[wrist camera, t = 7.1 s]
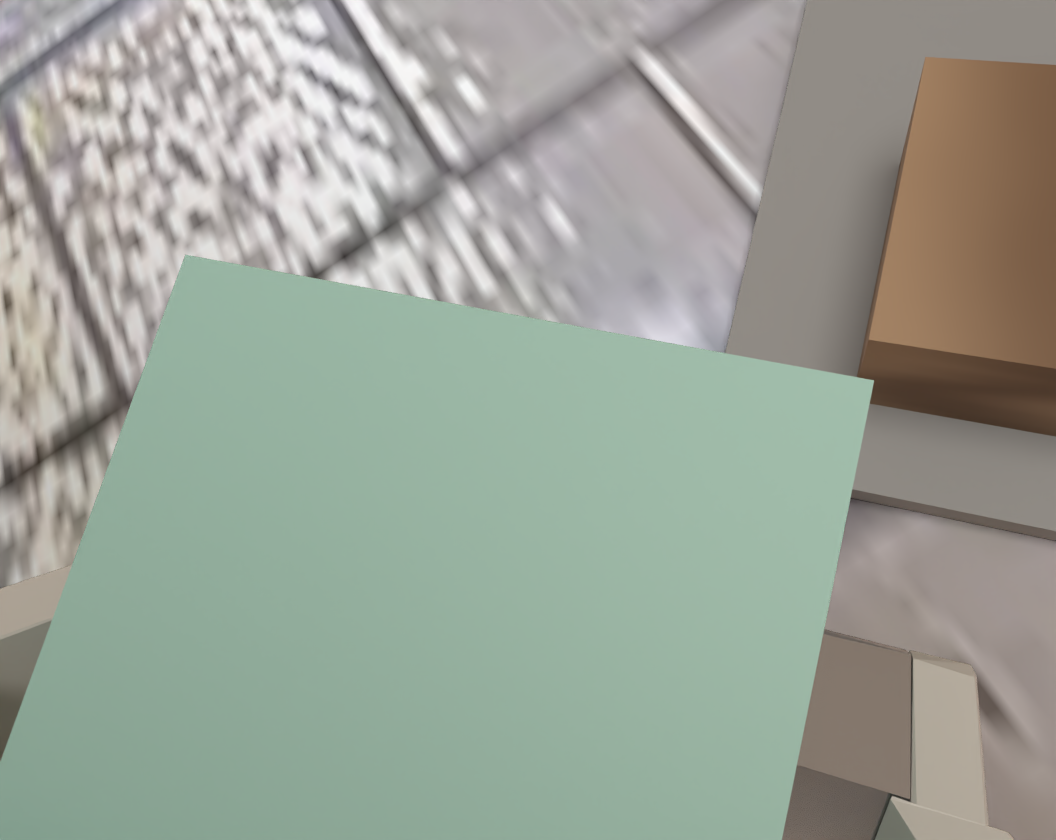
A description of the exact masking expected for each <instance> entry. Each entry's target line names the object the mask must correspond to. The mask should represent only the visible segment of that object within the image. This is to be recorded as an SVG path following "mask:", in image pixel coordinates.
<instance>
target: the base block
mask: <svg viewBox="0 0 1056 840" xmlns="http://www.w3.org/2000/svg"><path fill="white" fill-rule="evenodd" d="M857 377H858V378H864V379H869V380H874V384H873V389H872V394H871V399H870V404H875V405H880V406H886V407H892V408H897V409H903V410H909V411H914V412H920V413H926V414H931V415H937V416H942V417H948V418H954V419H959V420H965V421H971V422H976V423H982V424H988V425H993V426H999V427H1005V428H1010V429H1016V430H1022V431H1027V432H1033V433H1038V434H1044V435H1050V436H1055V437H1056V65H1050V64H1033V63H1017V62H1001V61H984V60H968V59H951V58H935V57H925V61H924V65H923V69H922V73H921V77H920V82H919V86H918V90H917V94H916V98H915V102H914V107H913V111H912V115H911V119H910V123H909V127H908V132H907V136H906V140H905V144H904V148H903V152H902V157H901V161H900V165H899V170H898V175H897V180H896V185H895V190H894V195H893V200H892V205H891V210H890V215H889V220H888V225H887V230H886V235H885V240H884V245H883V249H882V254H881V259H880V264H879V269H878V274H877V279H876V284H875V289H874V294H873V299H872V304H871V309H870V314H869V319H868V324H867V329H866V334H865V339H864V344H863V349H862V354H861V359H860V364H859V369H858V374H857Z"/></svg>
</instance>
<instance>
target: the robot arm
mask: <svg viewBox="0 0 1056 840" xmlns="http://www.w3.org/2000/svg"><path fill="white" fill-rule="evenodd" d="M71 567H72V565H70V566H67V567H64V568H61V569H58V570H55V571H52V572H49V573H46V574H43V575H40V576H37V577H34V578H31V579H28V580H25V581H22V582H19V583H16V584H13V585H10V586H7V587H4V588H1V589H0V761H1V758H2V756H3V753H4V750H5V747H6V745H7V742H8V739H9V737H10V734H11V731H12V728H13V726H14V723H15V720H16V717H17V715H18V712H19V709H20V706H21V704H22V701H23V698H24V695H25V693H26V690H27V687H28V685H29V682H30V679H31V676H32V674H33V671H34V668H35V665H36V663H37V660H38V657H39V654H40V652H41V649H42V646H43V643H44V641H45V638H46V635H47V632H48V630H49V627H50V624H51V622H52V619H53V616H54V613H55V611H56V608H57V605H58V602H59V600H60V597H61V594H62V591H63V589H64V586H65V583H66V580H67V578H68V575H69V572H70V569H71ZM782 840H1014V839H1013V837H1012V836H1011V835H1010V833H1008V832H1005V831H1002V830H999V829H996V828H993V827H990V826H989V823H988V811H987V798H986V786H985V774H984V762H983V749H982V737H981V725H980V713H979V700H978V688H977V676H976V673H975V671H974V670H973V668H972V667H971V665H969V664H965V663H961V662H957V661H953V660H948V659H944V658H940V657H936V656H932V655H928V654H924V653H920V652H916V651H911V650H910V651H909V652H907V651H906V650H904V649H900V648H896V647H892V646H888V645H884V644H880V643H877V642H873V641H869V640H865V639H861V638H857V637H853V636H849V635H845V634H841V633H837V632H833V631H829V630H825V629H824V633H823V637H822V642H821V647H820V652H819V657H818V662H817V667H816V672H815V677H814V682H813V687H812V692H811V697H810V702H809V707H808V712H807V717H806V722H805V727H804V732H803V737H802V742H801V747H800V752H799V757H798V762H797V767H796V772H795V777H794V782H793V787H792V792H791V797H790V802H789V807H788V812H787V817H786V821H785V826H784V831H783V836H782Z"/></svg>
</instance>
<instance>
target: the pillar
mask: <svg viewBox="0 0 1056 840" xmlns="http://www.w3.org/2000/svg"><path fill="white" fill-rule="evenodd" d="M873 384H874V380H869V379H864V378H858V377H853V376H847V375H842V374H836V373H831V372H825V371H820V370H814V369H809V368H803V367H798V366H792V365H787V364H781V363H776V362H770V361H765V360H759V359H754V358H748V357H743V356H738V355H732V354H727V353H721V352H716V351H710V350H705V349H699V348H694V347H688V346H683V345H677V344H672V343H666V342H661V341H655V340H650V339H644V338H639V337H633V336H628V335H622V334H617V333H611V332H606V331H600V330H595V329H589V328H584V327H579V326H573V325H568V324H562V323H557V322H551V321H546V320H540V319H535V318H529V317H524V316H518V315H513V314H507V313H502V312H496V311H491V310H485V309H480V308H474V307H469V306H463V305H458V304H452V303H447V302H441V301H436V300H431V299H425V298H420V297H414V296H409V295H403V294H398V293H392V292H387V291H381V290H376V289H370V288H365V287H359V286H354V285H348V284H343V283H337V282H332V281H326V280H321V279H315V278H310V277H304V276H299V275H293V274H288V273H282V272H277V271H272V270H266V269H261V268H255V267H250V266H244V265H239V264H233V263H228V262H222V261H217V260H211V259H206V258H200V257H195V256H189V255H185V257H184V260H183V263H182V266H181V268H180V271H179V274H178V276H177V279H176V282H175V285H174V287H173V290H172V293H171V296H170V298H169V301H168V304H167V307H166V309H165V312H164V315H163V318H162V320H161V323H160V326H159V329H158V331H157V334H156V337H155V339H154V342H153V345H152V348H151V350H150V353H149V356H148V359H147V361H146V364H145V367H144V370H143V372H142V375H141V378H140V381H139V383H138V386H137V389H136V391H135V394H134V397H133V400H132V402H131V405H130V408H129V411H128V413H127V416H126V419H125V422H124V424H123V427H122V430H121V433H120V435H119V438H118V441H117V444H116V446H115V449H114V452H113V454H112V457H111V460H110V463H109V465H108V468H107V471H106V474H105V476H104V479H103V482H102V485H101V487H100V490H99V493H98V496H97V498H96V501H95V504H94V507H93V509H92V512H91V515H90V517H89V520H88V523H87V526H86V528H85V531H84V534H83V537H82V539H81V542H80V545H79V548H78V550H77V553H76V556H75V559H74V561H73V564H72V567H71V569H70V572H69V575H68V578H67V580H66V583H65V586H64V589H63V591H62V594H61V597H60V600H59V602H58V605H57V608H56V611H55V613H54V616H53V619H52V622H51V624H50V627H49V630H48V632H47V635H46V638H45V641H44V643H43V646H42V649H41V652H40V654H39V657H38V660H37V663H36V665H35V668H34V671H33V674H32V676H31V679H30V682H29V685H28V687H27V690H26V693H25V695H24V698H23V701H22V704H21V706H20V709H19V712H18V715H17V717H16V720H15V723H14V726H13V728H12V731H11V734H10V737H9V739H8V742H7V745H6V747H5V750H4V753H3V756H2V758H1V761H0V840H782V836H783V831H784V826H785V821H786V817H787V812H788V807H789V802H790V797H791V792H792V787H793V782H794V777H795V772H796V767H797V762H798V757H799V752H800V747H801V742H802V737H803V732H804V727H805V722H806V717H807V712H808V707H809V702H810V697H811V692H812V687H813V682H814V677H815V672H816V667H817V662H818V657H819V652H820V647H821V642H822V637H823V633H824V628H825V623H826V618H827V613H828V608H829V603H830V598H831V593H832V588H833V583H834V578H835V573H836V568H837V563H838V558H839V553H840V548H841V543H842V538H843V533H844V528H845V523H846V518H847V513H848V508H849V503H850V498H851V493H852V488H853V483H854V478H855V473H856V468H857V463H858V458H859V453H860V449H861V444H862V439H863V434H864V429H865V424H866V419H867V414H868V409H869V404H870V399H871V394H872V389H873Z"/></svg>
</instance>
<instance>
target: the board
mask: <svg viewBox="0 0 1056 840" xmlns="http://www.w3.org/2000/svg"><path fill="white" fill-rule="evenodd" d="M925 57H935V58H951V59H968V60H984V61H1001V62H1017V63H1033V64H1050V65H1056V0H807V4H806V8H805V12H804V17H803V21H802V25H801V30H800V34H799V38H798V42H797V47H796V51H795V55H794V60H793V64H792V68H791V73H790V77H789V81H788V85H787V90H786V94H785V98H784V103H783V107H782V111H781V115H780V120H779V124H778V128H777V133H776V137H775V141H774V145H773V150H772V154H771V158H770V163H769V167H768V171H767V175H766V180H765V184H764V188H763V193H762V197H761V201H760V206H759V210H758V214H757V218H756V223H755V227H754V231H753V236H752V240H751V244H750V248H749V253H748V257H747V261H746V266H745V270H744V274H743V278H742V283H741V287H740V291H739V296H738V300H737V304H736V309H735V313H734V317H733V321H732V326H731V330H730V334H729V339H728V343H727V347H726V351H725V353H727V354H732V355H738V356H743V357H748V358H754V359H759V360H765V361H770V362H776V363H781V364H787V365H792V366H798V367H803V368H809V369H814V370H820V371H825V372H831V373H836V374H842V375H847V376H853V377H857V374H858V369H859V364H860V359H861V354H862V349H863V344H864V339H865V334H866V329H867V324H868V319H869V314H870V309H871V304H872V299H873V294H874V289H875V284H876V279H877V274H878V269H879V264H880V259H881V254H882V249H883V245H884V240H885V235H886V230H887V225H888V220H889V215H890V210H891V205H892V200H893V195H894V190H895V185H896V180H897V175H898V170H899V165H900V161H901V157H902V152H903V148H904V144H905V140H906V136H907V132H908V127H909V123H910V119H911V115H912V111H913V107H914V102H915V98H916V94H917V90H918V86H919V82H920V77H921V73H922V69H923V65H924V61H925ZM851 498H854V499H859V500H864V501H869V502H873V503H878V504H883V505H888V506H892V507H897V508H902V509H907V510H912V511H916V512H921V513H926V514H931V515H935V516H940V517H945V518H950V519H954V520H959V521H964V522H969V523H974V524H978V525H983V526H988V527H993V528H997V529H1002V530H1007V531H1012V532H1017V533H1021V534H1026V535H1031V536H1036V537H1040V538H1045V539H1050V540H1055V541H1056V437H1055V436H1050V435H1044V434H1038V433H1033V432H1027V431H1022V430H1016V429H1010V428H1005V427H999V426H993V425H988V424H982V423H976V422H971V421H965V420H959V419H954V418H948V417H942V416H937V415H931V414H926V413H920V412H914V411H909V410H903V409H897V408H892V407H886V406H880V405H875V404H869V409H868V414H867V419H866V424H865V429H864V434H863V439H862V444H861V449H860V453H859V458H858V463H857V468H856V473H855V478H854V483H853V488H852V493H851Z"/></svg>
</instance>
